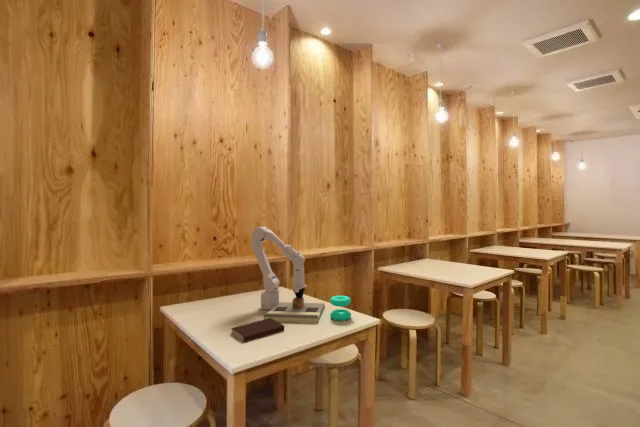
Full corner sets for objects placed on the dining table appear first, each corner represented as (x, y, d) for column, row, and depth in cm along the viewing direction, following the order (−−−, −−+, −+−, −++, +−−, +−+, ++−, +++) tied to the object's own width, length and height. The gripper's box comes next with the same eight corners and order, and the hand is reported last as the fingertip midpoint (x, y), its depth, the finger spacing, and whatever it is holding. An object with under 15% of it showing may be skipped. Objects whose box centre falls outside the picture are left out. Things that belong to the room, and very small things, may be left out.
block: (292, 308, 173) (292, 300, 173) (294, 305, 178) (294, 297, 178) (302, 308, 172) (301, 300, 172) (303, 305, 177) (303, 297, 177)
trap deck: (263, 321, 159) (263, 313, 159) (277, 305, 184) (277, 299, 184) (317, 322, 155) (317, 315, 155) (324, 307, 180) (324, 300, 180)
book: (284, 332, 146) (284, 324, 146) (243, 343, 134) (243, 335, 134) (270, 324, 156) (270, 317, 156) (230, 334, 144) (230, 327, 144)
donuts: (346, 301, 155) (326, 298, 160) (346, 322, 155) (326, 319, 160) (353, 295, 164) (335, 293, 168) (354, 316, 164) (335, 313, 169)
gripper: (304, 280, 171) (304, 306, 171) (308, 274, 185) (309, 299, 185) (290, 280, 172) (291, 306, 172) (296, 274, 186) (296, 298, 186)
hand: (299, 302), depth 179 cm, fingers closed
